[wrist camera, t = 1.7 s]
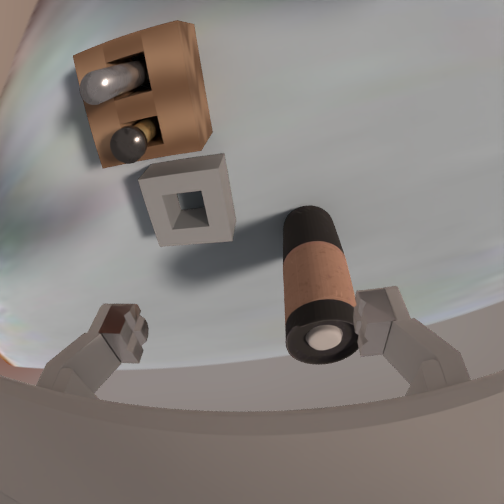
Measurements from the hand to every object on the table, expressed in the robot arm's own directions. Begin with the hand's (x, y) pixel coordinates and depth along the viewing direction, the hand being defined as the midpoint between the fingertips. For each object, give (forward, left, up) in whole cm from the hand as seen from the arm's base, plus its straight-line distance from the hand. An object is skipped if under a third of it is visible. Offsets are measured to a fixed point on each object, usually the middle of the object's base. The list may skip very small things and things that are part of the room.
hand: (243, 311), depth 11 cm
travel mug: (+16, +5, -30) cm, 35 cm away
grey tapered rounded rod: (-8, -12, -30) cm, 33 cm away
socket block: (-6, -12, -30) cm, 33 cm away
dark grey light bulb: (-2, -12, -27) cm, 30 cm away
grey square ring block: (+9, -10, -30) cm, 33 cm away
